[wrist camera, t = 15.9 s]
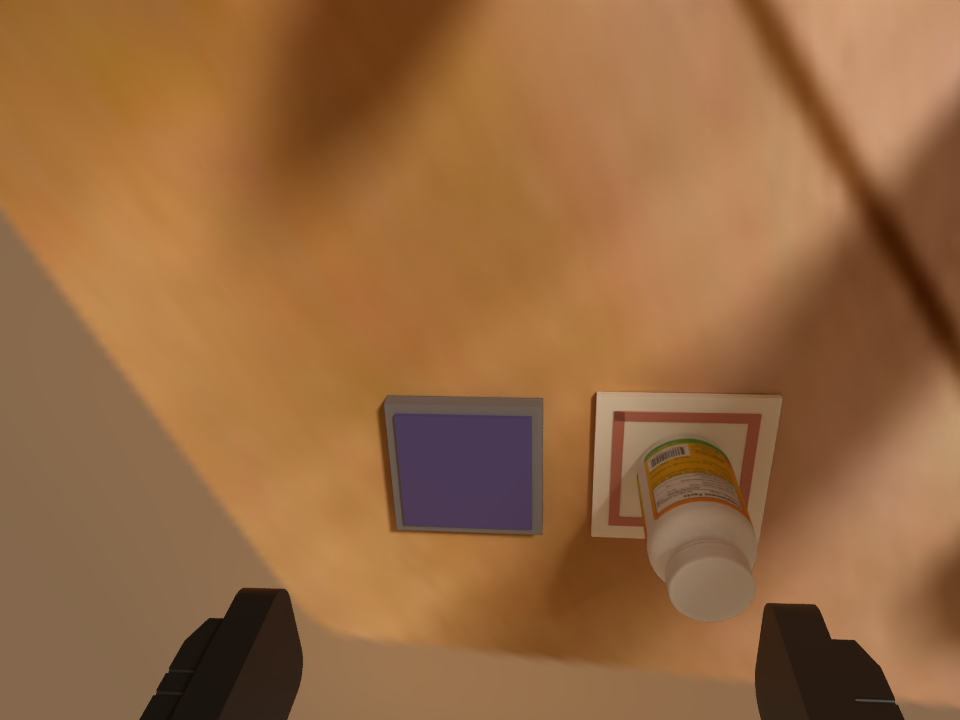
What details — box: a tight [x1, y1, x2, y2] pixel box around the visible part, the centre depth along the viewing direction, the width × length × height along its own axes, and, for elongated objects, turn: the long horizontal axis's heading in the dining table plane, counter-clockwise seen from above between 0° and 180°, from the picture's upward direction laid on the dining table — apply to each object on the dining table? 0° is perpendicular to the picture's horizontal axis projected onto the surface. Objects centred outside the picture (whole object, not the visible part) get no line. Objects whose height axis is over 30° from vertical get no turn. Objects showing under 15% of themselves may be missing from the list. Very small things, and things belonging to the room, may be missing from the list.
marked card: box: [591, 392, 783, 543], centre depth 44 cm, size 10×10×1 cm
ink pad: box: [384, 395, 543, 535], centre depth 45 cm, size 9×9×1 cm
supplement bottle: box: [637, 435, 758, 622], centre depth 40 cm, size 5×5×10 cm
